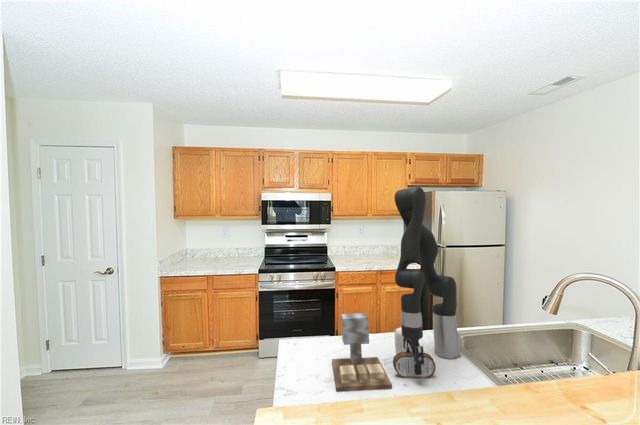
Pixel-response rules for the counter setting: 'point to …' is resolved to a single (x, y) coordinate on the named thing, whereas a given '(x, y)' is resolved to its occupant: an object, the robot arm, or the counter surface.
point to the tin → (406, 365)
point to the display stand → (358, 359)
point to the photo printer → (399, 341)
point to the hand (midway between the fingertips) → (413, 368)
